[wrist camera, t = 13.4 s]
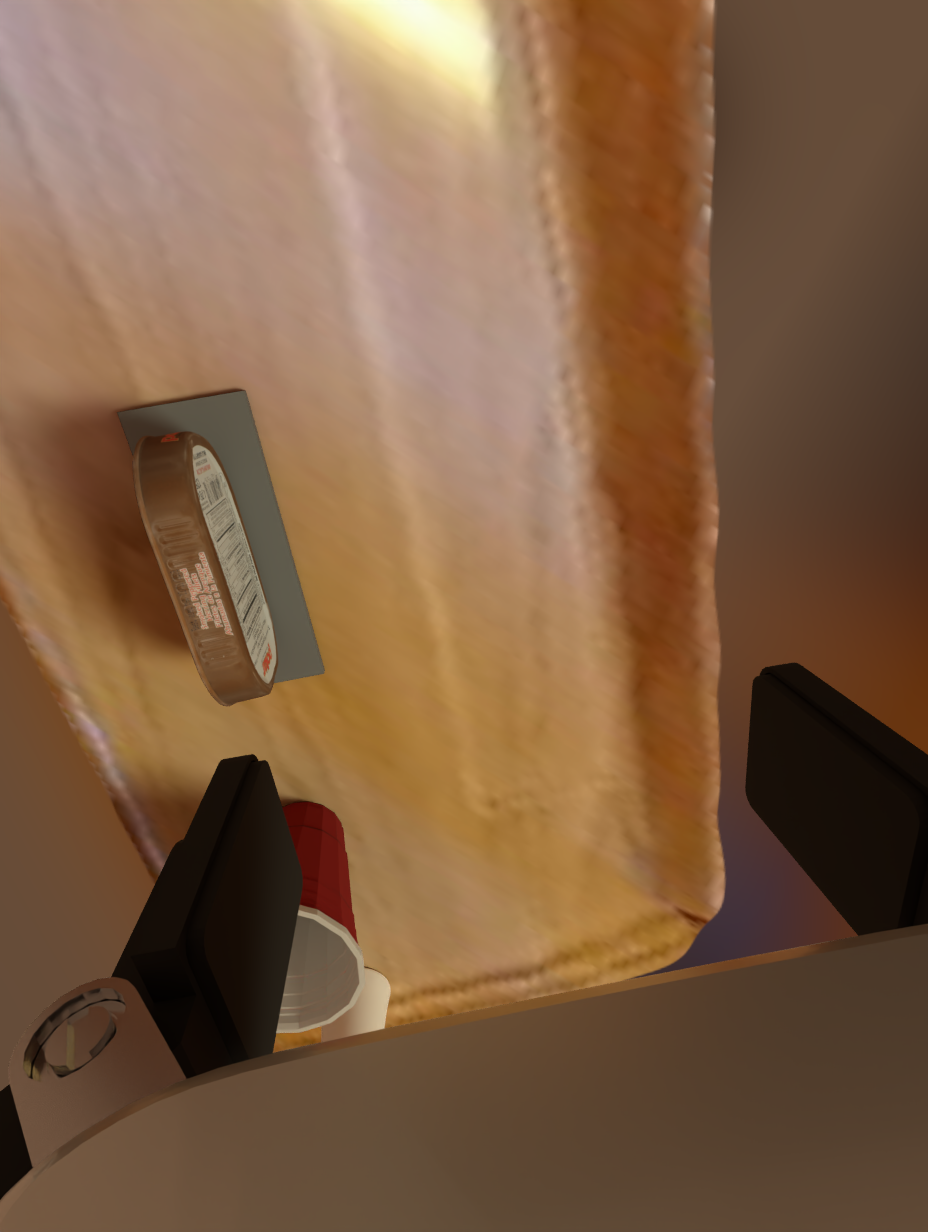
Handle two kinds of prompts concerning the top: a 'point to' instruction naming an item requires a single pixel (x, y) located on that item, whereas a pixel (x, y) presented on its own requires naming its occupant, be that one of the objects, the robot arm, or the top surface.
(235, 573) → the tin
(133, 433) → the mat
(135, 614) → the top surface
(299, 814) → the plastic cup
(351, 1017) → the cosmetic bottle
